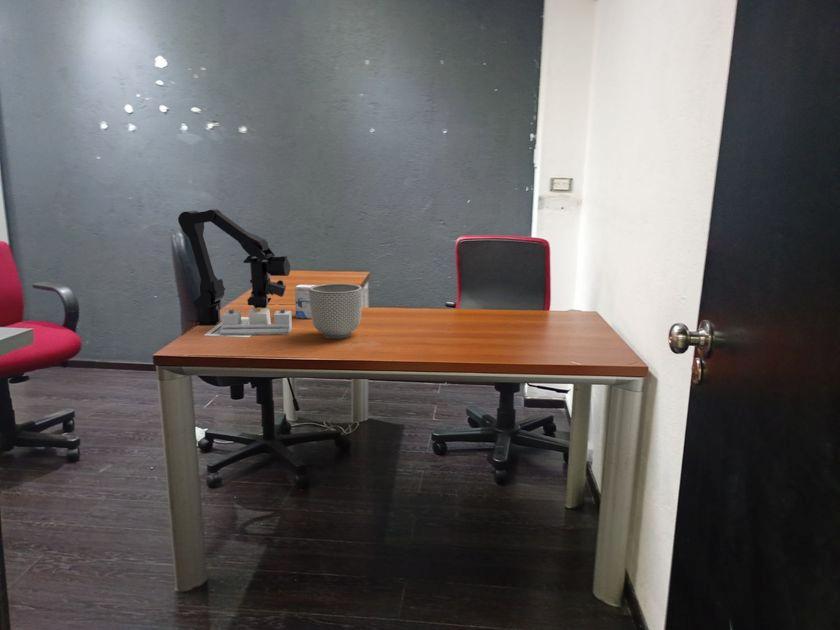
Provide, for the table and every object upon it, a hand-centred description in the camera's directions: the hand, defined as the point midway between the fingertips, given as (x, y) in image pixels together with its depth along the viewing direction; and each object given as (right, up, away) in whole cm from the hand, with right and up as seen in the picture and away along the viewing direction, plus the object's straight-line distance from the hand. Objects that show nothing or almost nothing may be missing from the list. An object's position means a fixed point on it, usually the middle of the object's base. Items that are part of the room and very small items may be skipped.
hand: (263, 319), depth 216 cm
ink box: (+13, +1, +14) cm, 19 cm away
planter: (+27, -5, -13) cm, 31 cm away
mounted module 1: (-9, -4, -7) cm, 12 cm away
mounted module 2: (+8, -3, -6) cm, 11 cm away
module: (0, -2, -3) cm, 4 cm away
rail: (0, -5, -11) cm, 12 cm away
